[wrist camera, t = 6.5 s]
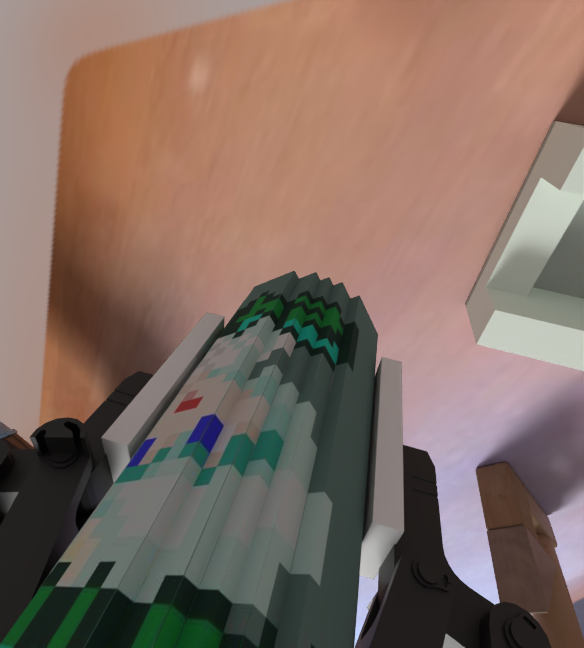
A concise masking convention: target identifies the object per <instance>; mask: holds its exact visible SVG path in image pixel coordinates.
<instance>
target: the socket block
mask: <svg viewBox="0 0 584 648" xmlns="http://www.w3.org/2000/svg"><path fill="white" fill-rule="evenodd" d="M465 305H466V308H467V312H468V316H469V319H470V323H471V326H472V330H473V333H474V337H475V341H476V344H478V345H482V346H486V347H490V348H494V349H498V350H502V351H506V352H510V353H514V354H518V355H522V356H526V357H530V358H534V359H538V360H542V361H546V362H550V363H554V364H558V365H562V366H566V367H570V368H574V369H578V370H582V371H584V126H583V125H577V124H571V123H565V122H559V121H553V123H552V125H551V127H550V129H549V131H548V133H547V135H546V137H545V139H544V142H543V144H542V146H541V148H540V150H539V152H538V154H537V156H536V158H535V160H534V162H533V164H532V166H531V169H530V171H529V173H528V175H527V177H526V179H525V181H524V183H523V185H522V187H521V189H520V191H519V193H518V195H517V198H516V200H515V202H514V204H513V206H512V208H511V210H510V212H509V214H508V216H507V218H506V220H505V222H504V224H503V227H502V229H501V231H500V233H499V235H498V237H497V239H496V241H495V243H494V245H493V247H492V249H491V251H490V254H489V256H488V258H487V260H486V262H485V264H484V266H483V268H482V270H481V272H480V274H479V276H478V278H477V280H476V283H475V285H474V287H473V289H472V291H471V293H470V295H469V297H468V299H467V301H466V303H465Z"/></svg>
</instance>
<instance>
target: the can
mask: <svg viewBox="0 0 584 648" xmlns="http://www.w3.org/2000/svg"><path fill="white" fill-rule="evenodd" d="M377 339H378V334H377V332H376V330H375V327H374V325H373V323H372V321H371V319H370V317H369V315H368V313H367V310H366V308H365V306H364V304H363V302H362V300H361V298H360V296H357V297H354V298H351V299H350V297H349V295H348V293H347V291H346V289H345V287H344V284H343V282H342V283H339V284H336V285H334V286H333V284H332V282H331V280H330V278H326V279H323V280H321V281H320V279H319V277H318V275H317V273H316V272H315V273H313V274H310V275H308V276H305V277H303V278H300V279H299V278H298V276H297V274H296V272H295V271H292V272H290V273H287V274H285V275H282V276H280V277H278V278H275V279H273V280H270V281H268V282H265V283H263V284H260V285H258V286H255V287H254V288H253V290H252V291H251V293H250V294H249V295H248V297H247V298H246V300H244V302H243V303H242V304H241V306H240V307H239V309H238V310H237V311H236V313H235V314H234V316H233V317H232V318H231V320H230V321H229V323H228V324H227V325H226V327H225V328H224V330H223V331H222V332H221V334H220V335H219V337H218V338H217V339H216V341H215V342H214V344H213V345H212V346H211V348H210V349H209V351H208V352H207V353H206V355H205V356H204V358H203V359H202V360H201V362H200V363H199V365H198V366H197V367H196V369H195V370H194V372H193V373H192V374H191V376H190V377H189V379H188V380H187V381H186V383H185V384H184V386H183V387H182V388H181V390H180V391H179V393H178V394H177V395H176V397H175V398H174V400H173V401H172V402H171V404H170V405H169V407H168V408H167V409H166V411H165V412H164V414H163V415H162V416H161V418H160V419H159V421H158V422H157V423H156V425H155V426H154V428H153V429H152V430H151V432H150V433H149V435H148V436H147V437H146V439H145V440H144V442H143V443H142V444H141V446H140V447H139V449H138V450H137V451H136V453H135V454H134V456H133V457H132V458H131V460H130V461H129V463H128V464H127V465H126V467H125V468H124V470H123V471H122V472H121V474H120V475H119V477H118V478H117V479H116V481H115V482H114V484H113V485H112V486H111V488H110V489H109V491H108V492H107V493H106V495H105V496H104V498H103V499H102V500H101V502H100V503H99V505H98V506H97V507H96V509H95V510H94V512H93V513H92V514H91V516H90V517H89V519H88V520H87V521H86V523H85V524H84V526H83V527H82V528H81V530H80V531H79V533H78V534H77V535H76V537H75V538H74V540H73V541H72V542H71V544H70V545H69V547H68V548H67V549H66V551H65V552H64V554H63V555H62V556H61V558H60V559H59V561H58V562H57V563H56V565H55V566H54V568H53V569H52V570H51V572H50V573H49V575H48V576H47V577H46V579H45V580H44V582H43V583H42V584H41V586H40V587H39V589H38V590H37V592H36V594H35V596H34V597H33V599H32V600H31V601H30V603H29V604H28V606H27V607H26V608H25V610H24V611H23V613H22V614H21V616H20V617H19V618H18V620H17V621H16V623H15V624H14V625H13V627H12V628H11V630H10V631H9V632H8V634H7V635H6V637H5V638H4V639H3V641H2V642H1V644H0V648H354V640H355V627H356V614H357V601H358V588H359V575H360V562H361V548H362V535H363V522H364V509H365V496H366V483H367V470H368V457H369V444H370V431H371V417H372V404H373V391H374V378H375V365H376V352H377Z"/></svg>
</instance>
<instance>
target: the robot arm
mask: <svg viewBox="0 0 584 648" xmlns="http://www.w3.org/2000/svg"><path fill="white" fill-rule="evenodd" d="M223 330H224V316H220V315H216V314H212V313H208V312H207V313H206V314H205V315H204V316H203V318H202V319H201V320H200V321H199V322H198V323H197V325H196V326H195V327H194V328H193V329H192V331H191V332H190V333H189V334H188V335H187V336H186V338H185V339H184V340H183V341H182V342H181V344H180V345H179V346H178V347H177V348H176V350H175V351H174V352H173V353H172V354H171V355H170V357H169V358H168V359H167V360H166V361H165V363H164V364H163V365H162V366H161V367H160V369H159V370H158V371H157V372H156V373H155V374H154V375H151V374H147V373H144V372H140V371H139V372H137V373H135V374H133V375H131V376H130V377H128V378H126V379H125V380H124V381H123V382H122V383H121V384H120V385H119V386H118V387H117V388H116V389H115V392H113V393H112V394H111V395H110V396H109V397H108V398H107V400H106V401H104V402H103V403H102V404H101V406H100V407H99V408H98V409H97V410H96V411H95V412H94V413H93V414H92V415H91V416H90V417H89V418H88V420H87V421H86V422H85V423H84V424H83V423H82V422H80V421H79V420H77V419H73V418H59V419H55V420H52V421H50V422H47V423H45V424H44V425H42V426H41V427H39V428H38V429H36V430H35V432H34V433H33V434H32V435H31V436H30V439H31V441H32V443H33V446H34V447H33V446H31V445H30V444H29V443H28V442H26V441H25V440H24V439H23V438H22V437H20V436H19V435H18V434H17V431H16V430H15V429H10V428H8V427H7V426H6V425H4V424H3V423H2V422H0V644H1V642H2V641H3V639H4V638H5V637H6V635H7V634H8V632H9V631H10V630H11V628H12V627H13V625H14V624H15V623H16V621H17V620H18V618H19V617H20V616H21V614H22V613H23V611H24V610H25V608H26V607H27V606H28V604H29V603H30V601H31V600H32V599H33V597H34V596H35V594H36V592H37V590H38V589H39V587H40V586H41V584H42V583H43V582H44V580H45V579H46V577H47V576H48V575H49V573H50V572H51V570H52V569H53V568H54V566H55V565H56V563H57V562H58V561H59V559H60V558H61V556H62V555H63V554H64V552H65V551H66V549H67V548H68V547H69V545H70V544H71V542H72V541H73V540H74V538H75V537H76V535H77V534H78V533H79V531H80V530H81V528H82V527H83V526H84V524H85V523H86V521H87V520H88V519H89V517H90V516H91V514H92V513H93V512H94V510H95V509H96V507H97V506H98V505H99V503H100V502H101V500H102V499H103V498H104V496H105V495H106V493H107V492H108V491H109V489H110V488H111V486H112V485H113V484H114V482H115V481H116V479H117V478H118V477H119V475H120V474H121V472H122V471H123V470H124V468H125V467H126V465H127V464H128V463H129V461H130V460H131V458H132V457H133V456H134V454H135V453H136V451H137V450H138V449H139V447H140V446H141V444H142V443H143V442H144V440H145V439H146V437H147V436H148V435H149V433H150V432H151V430H152V429H153V428H154V426H155V425H156V423H157V422H158V421H159V419H160V418H161V416H162V415H163V414H164V412H165V411H166V409H167V408H168V407H169V405H170V404H171V402H172V401H173V400H174V398H175V397H176V395H177V394H178V393H179V391H180V390H181V388H182V387H183V386H184V384H185V383H186V381H187V380H188V379H189V377H190V376H191V374H192V373H193V372H194V370H195V369H196V367H197V366H198V365H199V363H200V362H201V360H202V359H203V358H204V356H205V355H206V353H207V352H208V351H209V349H210V348H211V346H212V345H213V344H214V342H215V341H216V339H217V338H218V337H219V335H220V334H221V332H222V331H223ZM437 496H438V493H437V486H436V473H435V466H434V464H433V462H432V460H431V458H430V456H429V455H428V453H427V452H426V451H423V450H419V449H416V448H412V447H409V446H405V445H403V426H402V362H399V361H395V360H392V359H388V358H384V357H382V358H381V361H380V364H379V367H378V369H377V372H376V375H375V378H374V391H373V404H372V417H371V431H370V444H369V457H368V470H367V483H366V496H365V509H364V522H363V535H362V548H361V562H360V575H361V576H364V577H367V578H370V579H373V580H374V579H375V577H376V576H377V574H378V573H379V580H378V592H377V593H376V595H375V596H374V598H373V599H372V601H371V602H370V604H369V605H368V607H367V609H369V611H368V614H367V617H366V619H365V622H364V625H363V627H362V630H361V632H360V635H359V638H358V640H357V643H356V646H355V648H552V647H551V645H550V642H549V639H548V636H547V635H546V633H545V632H544V630H543V628H542V627H541V625H540V624H539V622H538V621H537V620H536V619H535V618H534V617H533V616H532V615H531V614H530V613H529V612H528V611H526V610H525V609H523V608H521V607H520V606H518V605H517V604H514V603H509V602H502V603H499V604H496V605H494V604H493V603H491V602H490V601H488V600H487V599H485V598H484V597H483V596H481V595H480V594H478V593H477V592H475V591H474V590H472V589H471V588H469V587H468V586H467V585H466V584H464V583H463V582H462V581H461V580H460V579H459V578H458V577H457V576H456V575H455V573H454V572H453V571H452V569H451V567H450V566H449V564H448V562H447V560H446V557H445V555H444V550H443V544H442V534H441V524H440V514H439V504H438V499H437Z"/></svg>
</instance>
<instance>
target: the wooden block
mask: <svg viewBox="0 0 584 648" xmlns="http://www.w3.org/2000/svg"><path fill="white" fill-rule="evenodd" d="M476 475H477V480H478V486H479V491H480V496H481V502H482V507H483V513H484V518H485V523H486V528H487V530H488V531H487V535H488V541H489V546H490V551H491V557H492V562H493V567H494V573H495V578H496V583H497V589H498V594H499V599H500V603H502V602H509V603H514V604H517V605H518V606H520V607H521V608H523V609H525V610H526V611H528V612H529V613H532V614H533V617H534V618H535V619H536V620H537V621H538V622H539V624H540V625H541V627H542V628H543V630H544V632H545V633H546V635H547V636H548V639H549V642H550V645H551V647H552V648H584V638H583V635H582V632H581V629H580V626H579V622H578V620H577V616H576V613H575V610H574V607H573V604H572V601H571V598H570V595H569V592H568V588H567V585H566V582H565V579H564V576H563V573H562V570H561V567H560V564H559V561H558V558H557V555H556V551H555V547H557V542H556V539H555V536H554V533H553V530H552V527H551V524H550V521H549V518H548V517H547V515H546V514H545V513H544V511H543V510H542V509H541V507H540V506H539V505H538V503H537V502H536V500H535V499H534V498H533V496H532V495H531V494H530V492H529V491H528V490H527V488H526V487H525V486H524V484H523V483H522V482H521V480H520V479H519V478H518V476H517V475H516V473H515V472H514V471H513V469H512V468H511V467H510V465H509V464H508V463H507V462H502V463H497V464H493V465H489V466H485V467H480V468H477V469H476Z"/></svg>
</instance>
